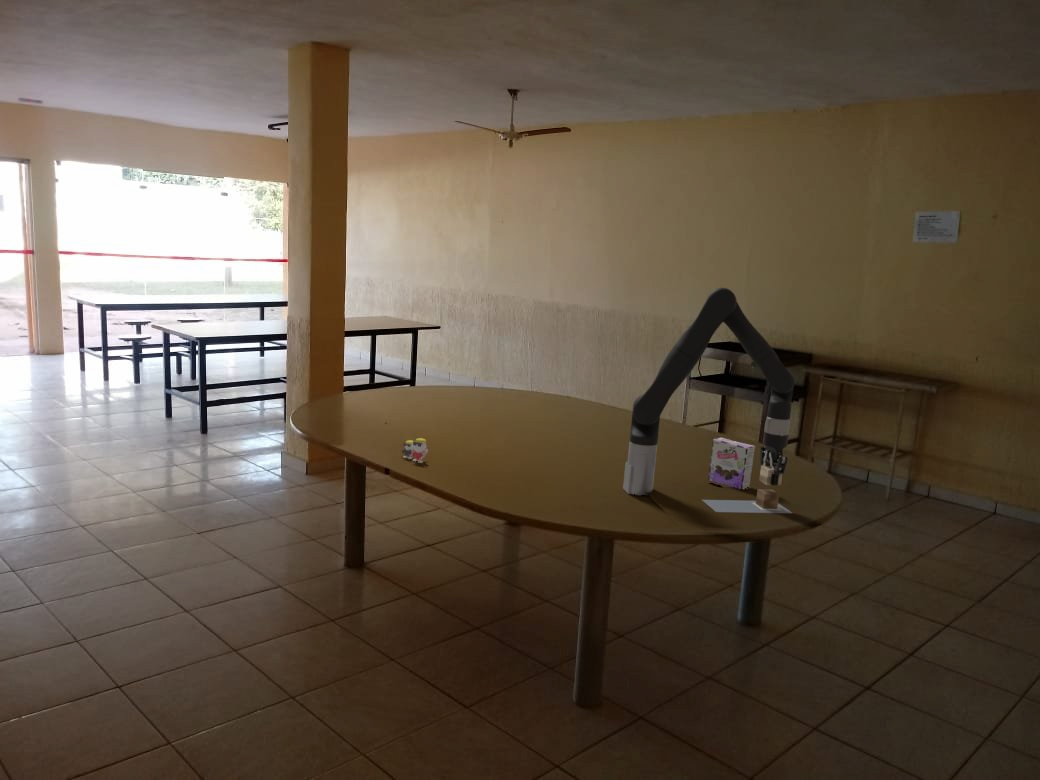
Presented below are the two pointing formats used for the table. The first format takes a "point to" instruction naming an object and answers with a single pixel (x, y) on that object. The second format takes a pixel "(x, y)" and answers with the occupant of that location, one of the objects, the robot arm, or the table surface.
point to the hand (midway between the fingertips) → (770, 482)
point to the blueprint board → (742, 506)
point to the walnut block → (767, 498)
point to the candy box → (731, 463)
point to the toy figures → (415, 449)
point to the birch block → (768, 475)
